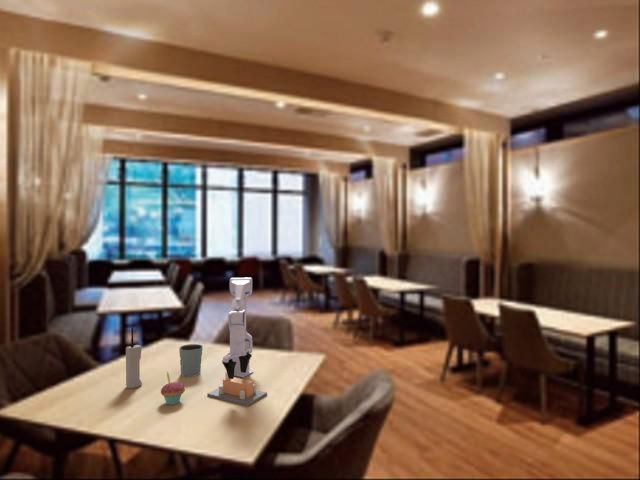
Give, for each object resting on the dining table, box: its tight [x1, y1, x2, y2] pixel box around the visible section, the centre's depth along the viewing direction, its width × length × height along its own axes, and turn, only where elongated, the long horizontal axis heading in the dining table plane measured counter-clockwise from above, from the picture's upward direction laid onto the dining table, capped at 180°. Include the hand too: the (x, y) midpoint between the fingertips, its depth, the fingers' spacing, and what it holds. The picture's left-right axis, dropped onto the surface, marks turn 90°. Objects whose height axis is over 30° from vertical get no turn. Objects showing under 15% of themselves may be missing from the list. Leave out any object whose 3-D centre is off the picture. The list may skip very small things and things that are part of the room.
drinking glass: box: [178, 343, 204, 377], centre depth 184 cm, size 10×10×12 cm
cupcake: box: [160, 371, 186, 405], centre depth 153 cm, size 9×8×12 cm
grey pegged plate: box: [206, 383, 268, 407], centre depth 159 cm, size 20×12×4 cm, turn 62°
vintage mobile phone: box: [125, 326, 143, 390], centre depth 168 cm, size 4×5×25 cm
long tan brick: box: [222, 371, 254, 398], centre depth 159 cm, size 12×4×7 cm, turn 62°
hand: (237, 375), depth 159 cm, fingers open, 7 cm apart
